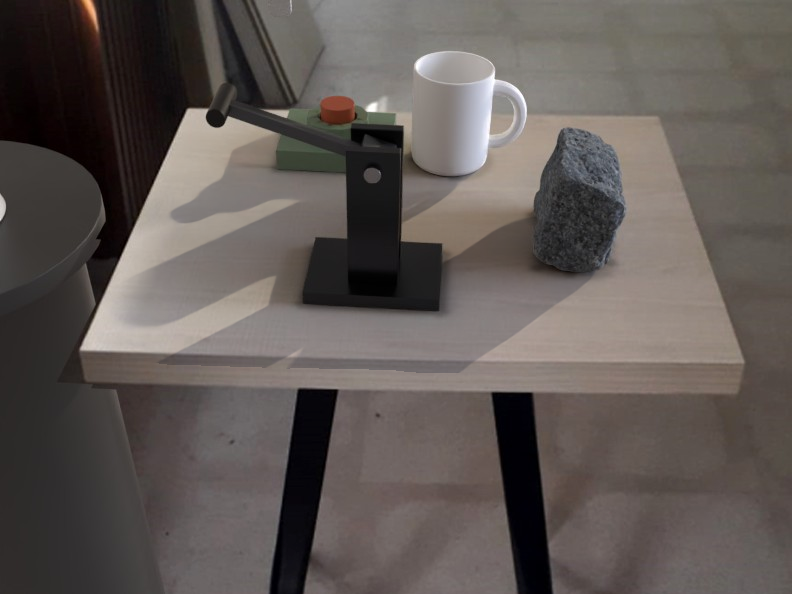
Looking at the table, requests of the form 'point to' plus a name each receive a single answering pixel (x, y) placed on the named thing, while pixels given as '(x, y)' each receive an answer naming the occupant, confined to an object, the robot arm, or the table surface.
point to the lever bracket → (374, 237)
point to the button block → (314, 158)
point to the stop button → (337, 110)
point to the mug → (458, 112)
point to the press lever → (279, 123)
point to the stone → (578, 203)
